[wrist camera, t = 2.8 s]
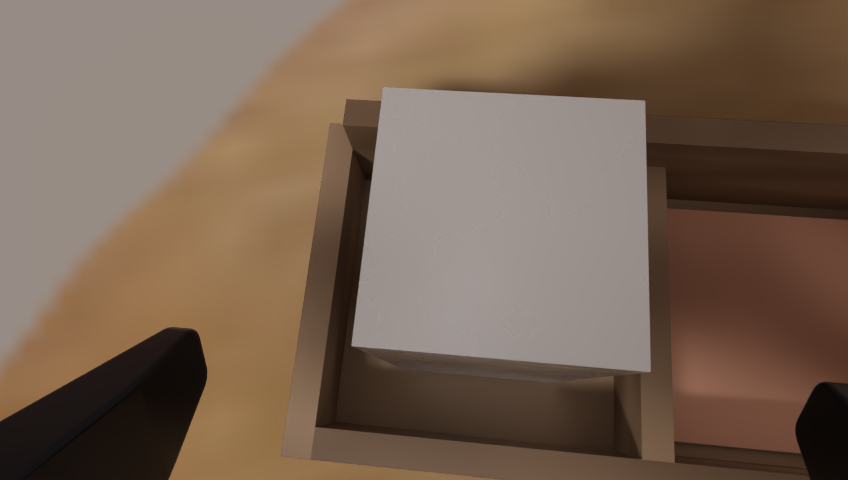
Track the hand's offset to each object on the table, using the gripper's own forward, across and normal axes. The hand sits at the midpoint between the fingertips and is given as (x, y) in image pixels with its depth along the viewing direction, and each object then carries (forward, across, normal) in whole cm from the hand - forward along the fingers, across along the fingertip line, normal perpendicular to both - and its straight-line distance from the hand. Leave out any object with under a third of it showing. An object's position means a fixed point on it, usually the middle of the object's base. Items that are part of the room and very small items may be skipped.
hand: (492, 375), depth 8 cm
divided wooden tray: (+9, -5, +5) cm, 11 cm away
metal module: (+8, 0, +5) cm, 9 cm away
